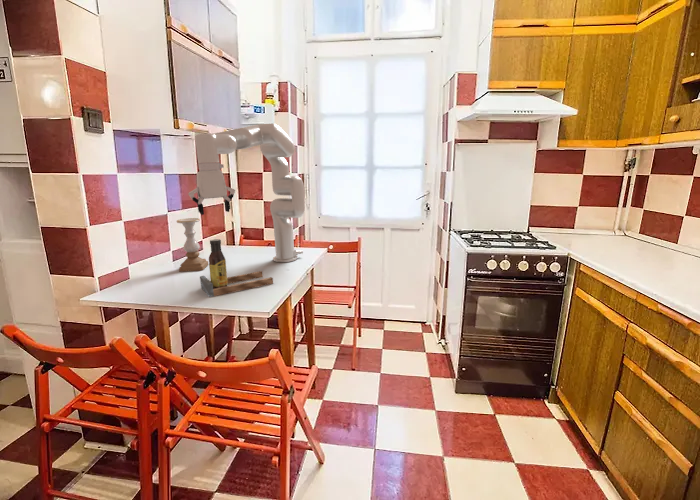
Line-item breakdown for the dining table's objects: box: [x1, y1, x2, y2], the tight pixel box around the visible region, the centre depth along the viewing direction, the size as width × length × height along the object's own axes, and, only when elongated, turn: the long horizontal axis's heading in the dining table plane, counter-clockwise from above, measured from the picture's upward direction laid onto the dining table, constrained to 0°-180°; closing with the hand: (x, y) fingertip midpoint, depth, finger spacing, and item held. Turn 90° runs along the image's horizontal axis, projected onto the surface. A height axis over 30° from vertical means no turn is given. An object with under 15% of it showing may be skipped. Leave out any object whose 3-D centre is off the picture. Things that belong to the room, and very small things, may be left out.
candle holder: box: [176, 217, 209, 273], centre depth 176 cm, size 11×11×24 cm
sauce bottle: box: [208, 238, 229, 289], centre depth 144 cm, size 7×6×20 cm
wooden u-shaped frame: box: [199, 270, 274, 298], centre depth 150 cm, size 26×13×5 cm, turn 124°
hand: (215, 212), depth 143 cm, fingers open, 9 cm apart
